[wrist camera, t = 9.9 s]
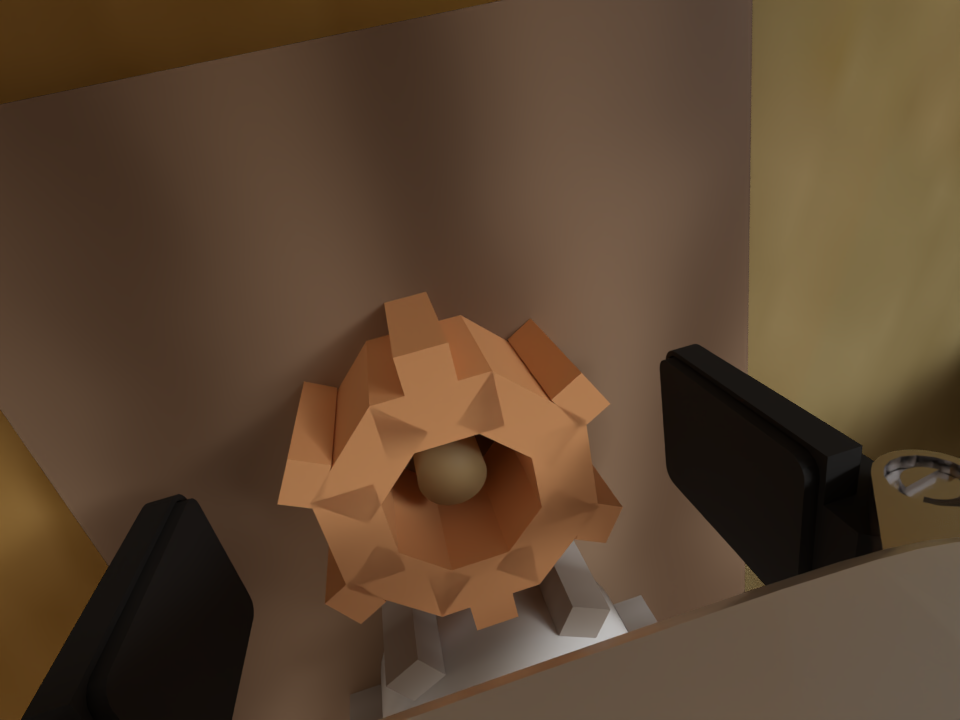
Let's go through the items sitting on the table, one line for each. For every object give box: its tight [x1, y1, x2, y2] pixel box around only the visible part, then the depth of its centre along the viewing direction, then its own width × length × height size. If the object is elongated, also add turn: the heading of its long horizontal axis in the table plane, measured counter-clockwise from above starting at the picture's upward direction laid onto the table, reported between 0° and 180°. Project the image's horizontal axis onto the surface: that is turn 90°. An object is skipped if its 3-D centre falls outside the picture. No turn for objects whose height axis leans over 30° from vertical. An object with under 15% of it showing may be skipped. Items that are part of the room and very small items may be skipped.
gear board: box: [0, 0, 752, 720], centre depth 13 cm, size 16×26×6 cm, turn 12°
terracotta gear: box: [278, 292, 623, 631], centre depth 11 cm, size 6×6×3 cm
